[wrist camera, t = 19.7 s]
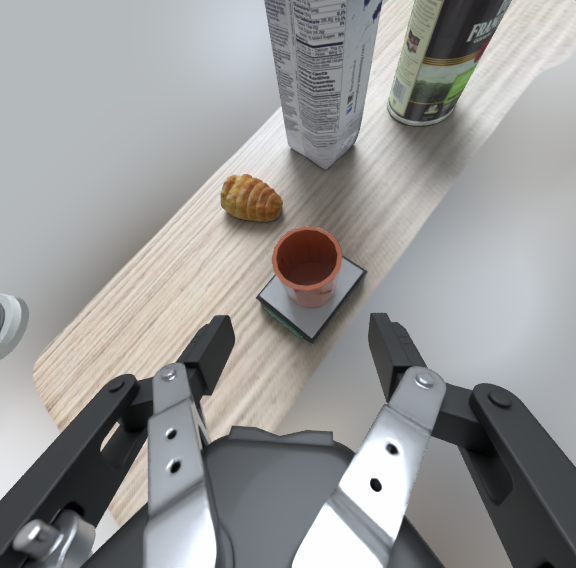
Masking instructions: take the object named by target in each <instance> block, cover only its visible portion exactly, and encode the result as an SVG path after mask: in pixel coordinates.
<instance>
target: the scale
mask: <svg viewBox="0 0 576 568" xmlns="http://www.w3.org/2000/svg"><path fill="white" fill-rule="evenodd" d="M366 274H367V271H366V270H364V269H363V268H361V267H360V266H358V265H356V264H355V263H353V262H352V261H350V260H349V259H347V258H346V257H344V256H342V261H341V268H340V273H339V277H338V282H337V286H336V290H335V292H334V295H333V296H332V298H331V299H330V300H329V301H328V302H327V303H326V304H324V305H323V306H320V307H317V308H304V307H301V306H299V305H297V304H296V303H294V302H293V301H292V300H291V298H290V297H289V295H288V294H287V292H286V291H285V289H284V287H283V286H282V284H281V282H280V281H279V279H278V277H277V276H276V274H275V275H274V277H273V278H272V279H271V280H270V281H269V283H268V284H267V285H266V286H265V287H264V288H263V290H262V291H261V292H260V293H259V294H258V296H257V297H256V298H257V299H258V300H259V301H260V302H262V303H263V304H264V305H265V306H264V309H265V310H266V311H267V312H269V313H270V314H271V315H272V316H273V317H275V318H276V319H277V320H278V321H279V322H281V323H282V324H283V325H284V326H285V327H287V328H288V329H289V330H290V331H291V332H293V333H294V334H295V335H296V336H297V337H299V338H300V339H302V337H304V338H305V339H306V340H308V341H309V342H310V343H311V344H312V345H313V344H314V343H315V341H316V340H317V339H318V338H319V336H320V335H321V334H322V332H323V331H324V330H325V328H326V327H327V326H328V324H329V323H330V322H331V321H332V319H333V318H334V317H335V315H336V314H337V313H338V311H339V310H340V309H341V307H342V306H343V305H344V304H345V302H346V301H347V300H348V298H349V297H350V296H351V294H352V293H353V292H354V290H355V289H356V288H357V287H358V285H359V284H360V283H361V281H362V280H363V279H364V277H365V276H366Z"/></svg>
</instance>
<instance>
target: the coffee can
mask: <svg viewBox="0 0 576 568" xmlns="http://www.w3.org/2000/svg"><path fill="white" fill-rule="evenodd" d="M511 1H512V0H415V2H414V6H413V9H412V13H411V17H410V21H409V24H408V28H407V32H406V36H405V40H404V44H403V48H402V51H401V55H400V58H399V62H398V66H397V70H396V73H395V77H394V81H393V85H392V89H391V92H390V96H389V98H388V103H387V106H388V107H387V108H388V110H389V112H390V114H391V115H392V116H393V117H394V118H395V119H396V120H398V121H400V122H402V123H405V124H408V125H413V126H427V125H431V124H435V123H438V122H440V121H442V120H444V119H445V118H446V117H448V116H449V115H450V114H451V112H452V111H453V109H454V107H455V104H456V103H457V101H458V99H459V97H460V95H461V93H462V92H463V90H464V88H465V86H466V84H467V82H468V80H469V79H470V77H471V75H472V73H473V71H474V69H475V67H476V66H477V64H478V62H479V60H480V58H481V56H482V55H483V53H484V51H485V49H486V47H487V45H488V44H489V42H490V40H491V38H492V36H493V34H494V33H495V31H496V29H497V27H498V25H499V23H500V21H501V20H502V18H503V16H504V14H505V12H506V10H507V9H508V7H509V5H510V3H511Z"/></svg>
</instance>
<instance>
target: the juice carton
mask: <svg viewBox="0 0 576 568" xmlns="http://www.w3.org/2000/svg"><path fill="white" fill-rule="evenodd" d="M264 1H265V7H266V13H267V19H268V25H269V32H270V37H271V43H272V49H273V56H274V62H275V68H276V74H277V80H278V87H279V93H280V98H281V105H282V111H283V117H284V123H285V129H286V135H287V140H288V144H289V146H290V147H291V148H292V149H294V150H295V151H297V152H299V153H300V154H302V155H304V156H305V157H307V158H309V159H310V160H311V161H313V162H314V163H315V164H317V165H318V166H320V167H321V168H323V169H325V170H326V169H328V168H329V167H330V166H331V165H332V164H333V163H334V162H335V161H336V160H337V159H338V158H339V157H340V156H341V155H342V154H344V153H345V152H346V151H347V150H348V149H349V148H350V147H352V146H353V144H354V143H355V142H356V139H357V136H358V133H359V130H360V126H361V121H362V115H363V110H364V104H365V98H366V92H367V87H368V81H369V75H370V69H371V63H372V57H373V52H374V46H375V40H376V34H377V28H378V23H379V17H380V11H381V5H382V0H264Z"/></svg>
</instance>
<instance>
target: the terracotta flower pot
mask: <svg viewBox="0 0 576 568" xmlns="http://www.w3.org/2000/svg"><path fill="white" fill-rule="evenodd" d="M341 261H342V252H341V248H340V245H339V243H338V241H337V240H336V239H335V238H334V237H333V236H332V235H331V233H329V232H327V231H325V230H323V229H321V228H319V227H311V226H303V227H299V228H296V229H293V230H291V231H289V232H288V233H286V234H285V235H283V236H282V237H281V238H280V240H279V241H278V243H277V244H276V246H275V247H274V251H273V256H272V264H273V269H274V272H275V274H276V276H277V277H278V279H279V281H280V282H281V284H282V286H283V287H284V289H285V291H286V292H287V294H288V295H289V297H290V298H291V300H292V301H293V302H294V303H296V304H297V305H299V306H301V307H304V308H317V307H320V306H323V305H324V304H326V303H327V302H328V301H329V300H330V299H331V298H332V296H333V295H334V292H335V290H336V286H337V282H338V277H339V273H340V268H341Z"/></svg>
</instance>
